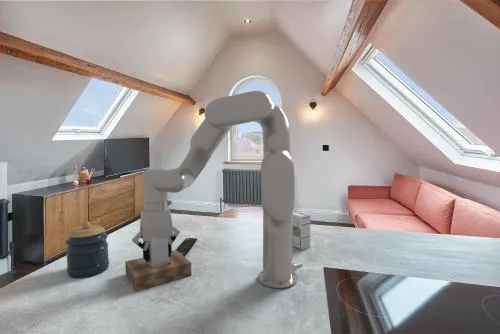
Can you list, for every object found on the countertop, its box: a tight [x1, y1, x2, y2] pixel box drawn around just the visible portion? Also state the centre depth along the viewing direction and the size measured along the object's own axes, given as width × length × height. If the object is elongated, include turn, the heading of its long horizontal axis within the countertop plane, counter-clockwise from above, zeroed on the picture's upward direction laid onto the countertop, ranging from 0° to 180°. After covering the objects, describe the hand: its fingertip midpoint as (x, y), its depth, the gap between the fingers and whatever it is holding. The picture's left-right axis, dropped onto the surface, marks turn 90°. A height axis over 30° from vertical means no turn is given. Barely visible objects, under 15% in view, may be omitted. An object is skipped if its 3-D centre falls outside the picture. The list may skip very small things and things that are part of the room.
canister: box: [64, 221, 110, 279], centre depth 99 cm, size 13×13×18 cm
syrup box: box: [292, 211, 311, 251], centre depth 121 cm, size 6×6×14 cm
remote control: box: [175, 237, 198, 258], centre depth 119 cm, size 5×24×1 cm, turn 176°
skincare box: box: [147, 237, 169, 269], centre depth 95 cm, size 6×4×12 cm
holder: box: [124, 249, 192, 292], centre depth 96 cm, size 18×14×4 cm
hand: (157, 257), depth 96 cm, fingers closed on skincare box, 6 cm apart
